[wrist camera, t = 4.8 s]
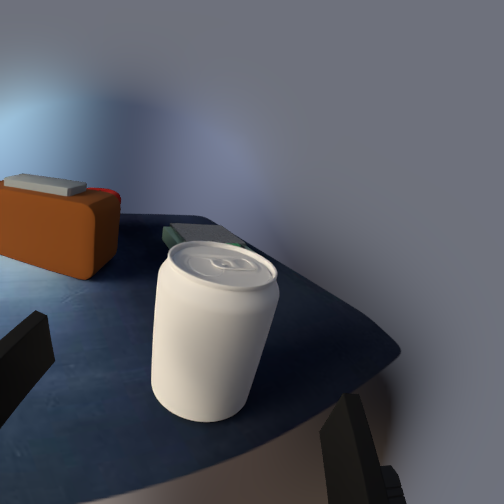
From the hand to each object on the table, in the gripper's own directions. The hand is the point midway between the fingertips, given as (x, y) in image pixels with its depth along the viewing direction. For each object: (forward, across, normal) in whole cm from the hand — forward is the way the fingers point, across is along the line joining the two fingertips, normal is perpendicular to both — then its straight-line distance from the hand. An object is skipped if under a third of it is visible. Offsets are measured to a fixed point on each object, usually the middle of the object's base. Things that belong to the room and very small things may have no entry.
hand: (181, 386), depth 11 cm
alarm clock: (+25, -29, -10) cm, 39 cm away
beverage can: (+9, 0, -10) cm, 14 cm away
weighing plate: (+43, -6, -7) cm, 44 cm away
